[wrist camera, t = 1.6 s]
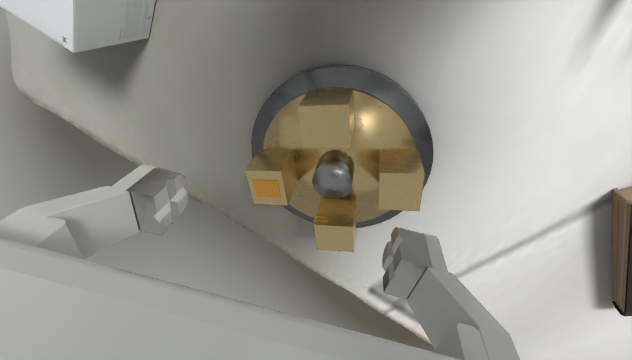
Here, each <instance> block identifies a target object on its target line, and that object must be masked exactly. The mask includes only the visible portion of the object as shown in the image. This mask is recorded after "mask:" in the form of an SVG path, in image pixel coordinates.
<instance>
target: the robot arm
mask: <svg viewBox="0 0 632 360" xmlns="http://www.w3.org/2000/svg"><path fill="white" fill-rule="evenodd" d="M185 184H186V178H185V176H184V175H183V174H180V173H177V172H173V171H169V170H166V169H162V168H157V167H154V166H150V165H147V164H145V165H141V166H139V167H138V168H137V169H135V170H134V171H132V172H131V173H130V174H128V175H127V176H125V177H124V178H123V179H121V180H120V181H118V182H117V183H116V184H114V185H113V186H111V187H109V186H104V187H100V188H97V189H93V190H89V191H85V192H81V193H77V194H74V195H69V196H66V197H62V198H58V199H54V200H50V201H46V202H42V203H39V204H35V205H31V206H27V207H23V208H21V209H19V210H18V211H16V212H14V213H13V214H11V215H9V216H8V217H6V218H4V219H3V220H1V221H0V360H520V358H519V356H518V354H517V351H516V349H515V346H514V344H513V341H512V339H511V336H510V334H509V333H508V332H507V331H506V330H505V329H504V328H503V327H502V326H501V325H500V324H499V323H498V322H497V321H496V320H495V318H494V317H493V316H492V315H491V314H490V313H489V312H488V311H487V310H486V309H485V308H484V307H483V306H482V305H481V303H480V302H479V301H478V300H477V299H476V298H475V297H474V296H473V295H472V294H471V293H470V292H469V291H468V290H467V289H466V287H465V286H464V285H463V284H462V283H461V282H460V281H459V280H458V279H457V278H456V277H455V276H454V275H453V274H452V273H449V272H448V270H447V267H446V263H445V260H444V256H443V253H442V249H441V246H440V242H439V239H438V238H437V236H432V235H428V234H424V233H423V234H422V233H418V232H414V231H410V230H406V229H402V228H397V227H395V228H394V230H393V232H392V234H391V240H392V241H390V242H388V243H387V245H386V247H385V249H384V253H383V260H382V267H383V269H384V270H385V271H386V272H385V274H384V276H383V289H384V293H386V294H389V295H393V296H396V297H400V298H403V299H407V302H408V304H409V306H410V307H411V309H412V311H413V312H414V314H415V316H416V317H417V319H418V321H419V323H420V324H421V326H422V328H423V329H424V331H425V333H426V334H427V336H428V338H429V340H430V341H431V343H432V345H433V346H434V348H435V350H434V351H433V352H431V351H426V350H423V349H419V348H415V347H411V346H408V345H404V344H400V343H397V342H393V341H389V340H386V339H381V338H378V337H374V336H370V335H367V334H363V333H359V332H355V331H352V330H348V329H344V328H340V327H337V326H332V325H329V324H325V323H321V322H317V321H314V320H310V319H306V318H302V317H298V316H295V315H291V314H287V313H284V312H280V311H276V310H272V309H268V308H265V307H261V306H257V305H253V304H249V303H245V302H242V301H238V300H235V299H231V298H227V297H223V296H219V295H216V294H212V293H208V292H205V291H201V290H197V289H193V288H190V287H186V286H182V285H178V284H174V283H171V282H167V281H163V280H159V279H155V278H151V277H148V276H144V275H140V274H136V273H132V272H129V271H125V270H122V269H118V268H114V267H110V266H106V265H103V264H99V263H95V262H92V261H88V260H84V259H85V258H87V257H89V256H91V255H93V254H95V253H97V252H99V251H101V250H103V249H105V248H107V247H109V246H111V245H113V244H115V243H117V242H119V241H121V240H123V239H125V238H127V237H129V236H131V235H133V234H135V233H137V232H139V230H140V231H144V232H148V233H153V234H158V235H163V233H164V232H165V231H166V230H167V229H168V228H169V227H170V225H172V218H174V217H177V216H179V215H180V214H181V213H182V212H183V211H184V209H185V207H186V204H187V200H188V195H187V192H186V190H185V189H184V188H183V186H184V185H185Z"/></svg>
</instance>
